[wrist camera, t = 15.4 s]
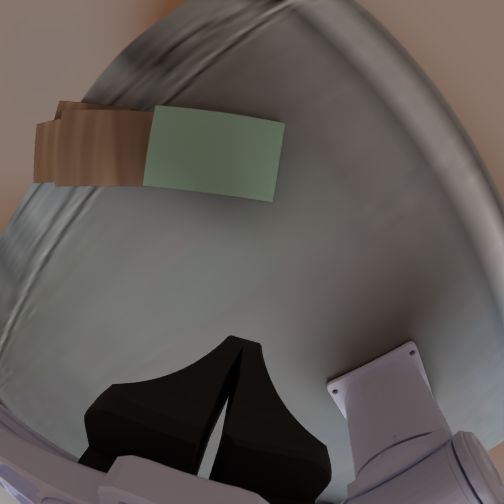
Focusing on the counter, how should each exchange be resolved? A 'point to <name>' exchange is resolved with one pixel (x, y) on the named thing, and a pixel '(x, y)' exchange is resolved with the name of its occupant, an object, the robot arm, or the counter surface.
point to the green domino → (213, 153)
